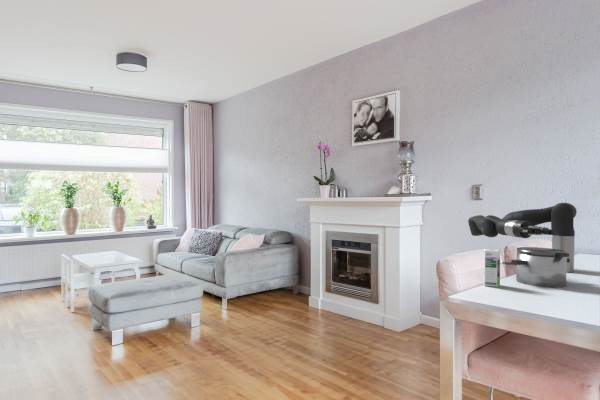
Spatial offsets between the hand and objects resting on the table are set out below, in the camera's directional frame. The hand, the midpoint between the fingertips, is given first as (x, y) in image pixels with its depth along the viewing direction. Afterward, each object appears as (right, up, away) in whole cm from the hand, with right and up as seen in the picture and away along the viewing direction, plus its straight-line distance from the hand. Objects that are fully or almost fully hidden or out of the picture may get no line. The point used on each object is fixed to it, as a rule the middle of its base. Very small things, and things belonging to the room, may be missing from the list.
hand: (552, 232), depth 164 cm
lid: (-1, -9, +4) cm, 10 cm away
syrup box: (-25, -22, -1) cm, 33 cm away
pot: (-2, -21, +6) cm, 22 cm away
